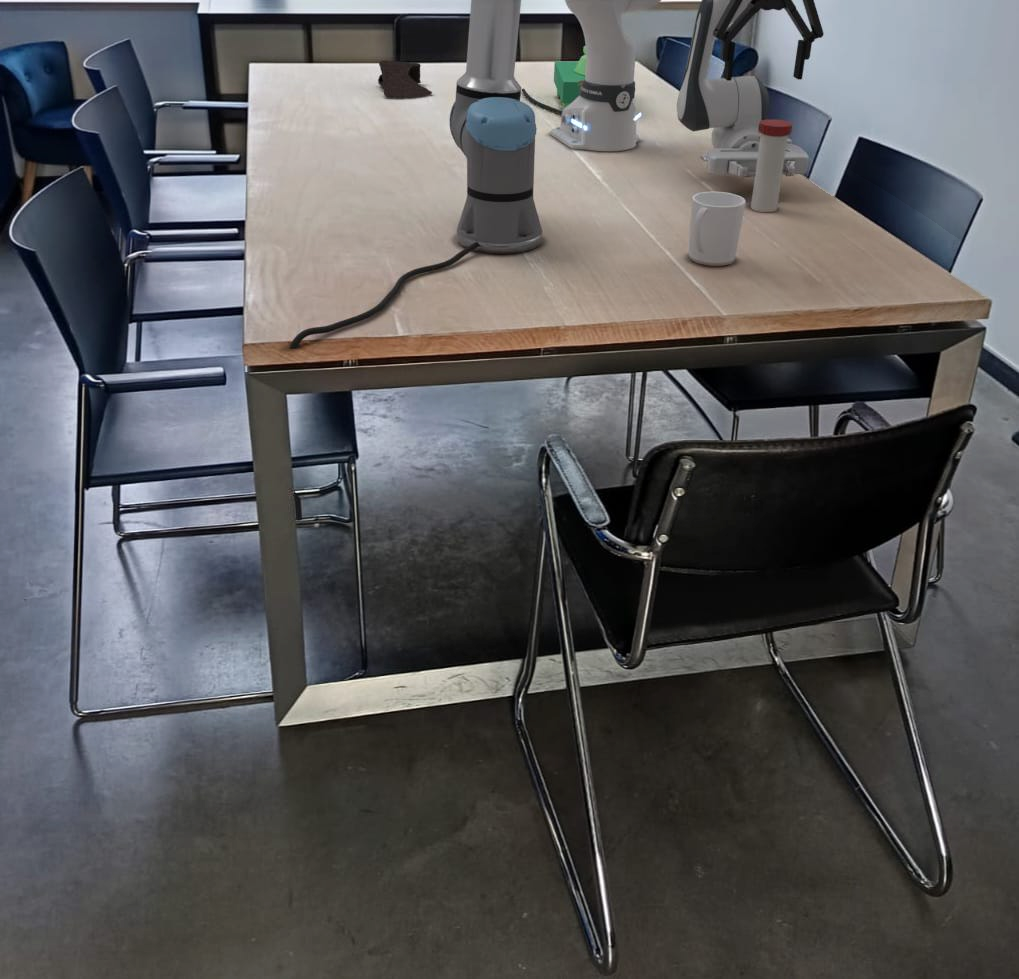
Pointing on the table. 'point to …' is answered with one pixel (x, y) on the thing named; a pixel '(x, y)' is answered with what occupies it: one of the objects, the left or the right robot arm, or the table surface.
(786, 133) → the lid
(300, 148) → the table surface
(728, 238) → the mug
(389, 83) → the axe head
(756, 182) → the jar
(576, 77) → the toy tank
